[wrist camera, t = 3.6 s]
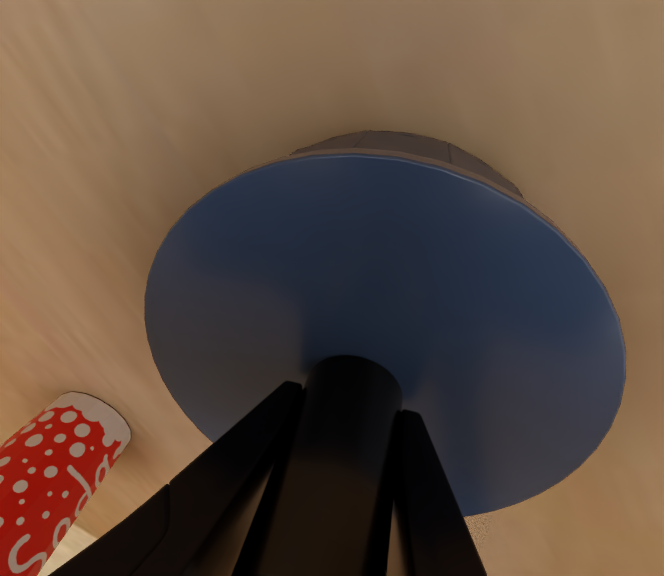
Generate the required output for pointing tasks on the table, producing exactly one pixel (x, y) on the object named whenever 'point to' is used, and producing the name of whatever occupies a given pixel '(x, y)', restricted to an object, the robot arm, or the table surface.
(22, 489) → the beverage cup
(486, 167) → the pot
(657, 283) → the table surface
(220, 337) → the lid
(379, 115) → the table surface
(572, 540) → the table surface
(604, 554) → the table surface
